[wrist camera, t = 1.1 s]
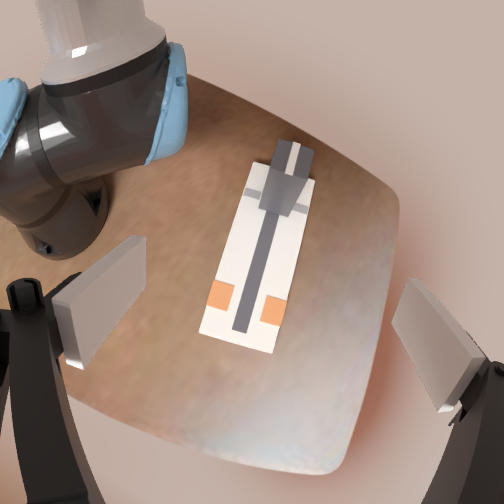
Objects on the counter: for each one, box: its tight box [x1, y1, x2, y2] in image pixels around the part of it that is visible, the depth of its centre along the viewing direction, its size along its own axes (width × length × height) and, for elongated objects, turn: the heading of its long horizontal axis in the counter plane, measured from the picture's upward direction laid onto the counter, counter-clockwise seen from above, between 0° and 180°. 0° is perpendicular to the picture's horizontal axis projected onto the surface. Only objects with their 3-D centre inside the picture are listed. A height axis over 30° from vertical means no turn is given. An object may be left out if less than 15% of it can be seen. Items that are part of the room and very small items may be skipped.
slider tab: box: [258, 139, 314, 217], centre depth 35 cm, size 4×4×10 cm
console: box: [199, 162, 315, 354], centre depth 39 cm, size 24×9×2 cm, turn 164°
